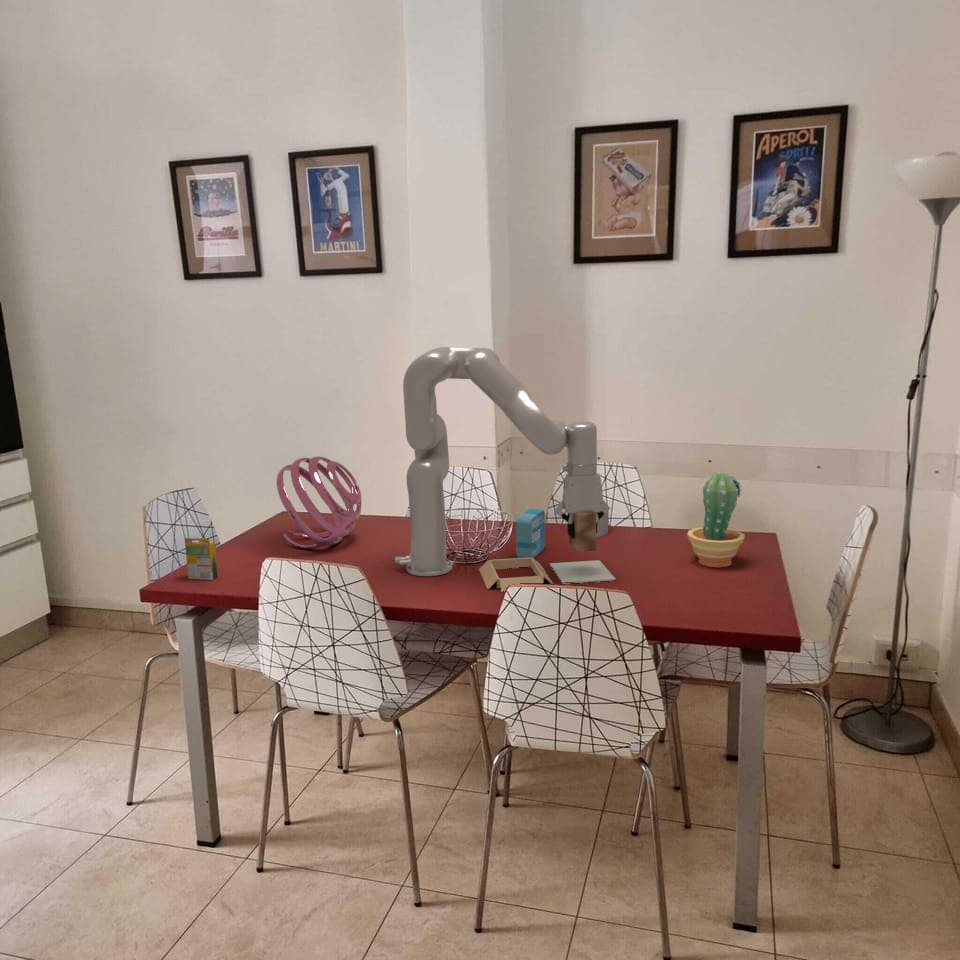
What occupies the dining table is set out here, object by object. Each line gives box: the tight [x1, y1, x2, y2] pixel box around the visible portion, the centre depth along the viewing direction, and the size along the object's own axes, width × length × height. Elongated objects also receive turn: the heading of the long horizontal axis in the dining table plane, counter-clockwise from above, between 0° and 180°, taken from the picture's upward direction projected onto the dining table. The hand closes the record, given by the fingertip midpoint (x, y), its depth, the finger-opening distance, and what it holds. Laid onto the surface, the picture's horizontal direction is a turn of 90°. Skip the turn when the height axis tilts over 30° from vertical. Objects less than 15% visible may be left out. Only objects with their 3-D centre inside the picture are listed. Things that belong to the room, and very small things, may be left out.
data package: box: [515, 508, 546, 559], centre depth 253 cm, size 12×4×12 cm, turn 157°
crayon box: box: [184, 537, 219, 581], centre depth 238 cm, size 7×3×12 cm, turn 80°
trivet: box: [549, 560, 616, 585], centre depth 236 cm, size 14×16×1 cm
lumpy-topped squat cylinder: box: [596, 510, 610, 538], centre depth 274 cm, size 10×13×9 cm
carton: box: [478, 557, 554, 593], centre depth 234 cm, size 17×21×3 cm
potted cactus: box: [686, 471, 745, 568], centre depth 240 cm, size 15×15×25 cm
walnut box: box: [568, 512, 597, 553], centre depth 233 cm, size 5×9×10 cm, turn 8°
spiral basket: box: [276, 455, 363, 550], centre depth 266 cm, size 28×28×27 cm
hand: (582, 535), depth 234 cm, fingers closed on walnut box, 5 cm apart
